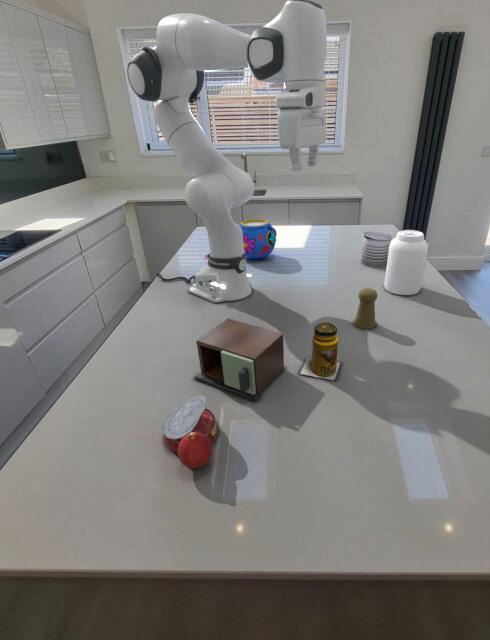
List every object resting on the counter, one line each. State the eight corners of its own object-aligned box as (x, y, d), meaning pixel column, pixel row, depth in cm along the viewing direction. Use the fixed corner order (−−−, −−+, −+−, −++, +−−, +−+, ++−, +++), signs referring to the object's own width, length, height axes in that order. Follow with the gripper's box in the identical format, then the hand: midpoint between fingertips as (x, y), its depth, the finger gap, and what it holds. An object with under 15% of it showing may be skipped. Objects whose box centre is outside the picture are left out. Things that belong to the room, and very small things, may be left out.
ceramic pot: (275, 264, 156) (274, 227, 148) (233, 264, 156) (230, 228, 148) (277, 250, 171) (276, 217, 163) (238, 251, 171) (236, 217, 163)
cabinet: (195, 379, 88) (188, 343, 83) (230, 351, 99) (226, 317, 93) (254, 401, 81) (252, 364, 76) (285, 369, 91) (285, 333, 86)
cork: (375, 329, 107) (379, 295, 102) (353, 328, 108) (357, 293, 103) (375, 320, 112) (379, 286, 107) (355, 318, 114) (358, 284, 108)
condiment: (334, 380, 87) (337, 336, 81) (299, 374, 89) (300, 331, 83) (340, 363, 93) (343, 321, 87) (307, 358, 95) (308, 316, 89)
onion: (184, 453, 69) (177, 421, 65) (215, 450, 69) (210, 419, 65) (179, 479, 64) (171, 446, 60) (212, 476, 64) (207, 444, 60)
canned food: (201, 469, 71) (179, 456, 63) (164, 444, 75) (139, 429, 67) (234, 419, 76) (218, 400, 67) (197, 398, 80) (177, 378, 71)
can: (368, 256, 162) (371, 228, 156) (393, 261, 157) (397, 232, 150) (356, 263, 155) (358, 235, 148) (381, 269, 149) (385, 239, 143)
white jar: (381, 293, 129) (388, 235, 119) (386, 280, 139) (394, 226, 129) (418, 298, 125) (429, 239, 115) (421, 284, 135) (432, 229, 125)
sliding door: (219, 389, 83) (214, 356, 78) (226, 382, 85) (222, 350, 81) (248, 400, 80) (245, 367, 75) (255, 393, 82) (253, 360, 77)
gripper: (308, 100, 90) (308, 163, 97) (271, 97, 74) (274, 173, 81) (333, 99, 87) (331, 164, 95) (300, 96, 71) (300, 174, 79)
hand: (304, 168), depth 88 cm, fingers open, 8 cm apart
